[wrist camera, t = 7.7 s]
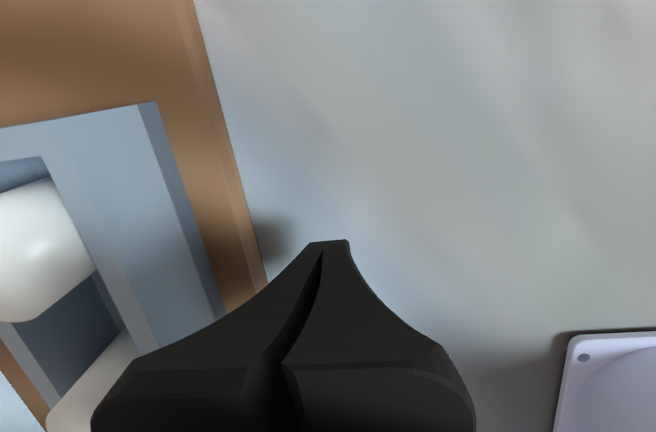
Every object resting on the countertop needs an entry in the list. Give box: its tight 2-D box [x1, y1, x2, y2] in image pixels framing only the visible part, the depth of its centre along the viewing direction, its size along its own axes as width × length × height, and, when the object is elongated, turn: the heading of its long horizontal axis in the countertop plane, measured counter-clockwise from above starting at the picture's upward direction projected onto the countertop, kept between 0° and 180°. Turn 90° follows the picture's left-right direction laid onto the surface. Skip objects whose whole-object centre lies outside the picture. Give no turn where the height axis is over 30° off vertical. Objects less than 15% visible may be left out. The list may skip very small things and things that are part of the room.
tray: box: [0, 101, 227, 432], centre depth 11 cm, size 12×5×5 cm, turn 9°
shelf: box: [0, 0, 268, 432], centre depth 13 cm, size 22×10×4 cm, turn 9°
